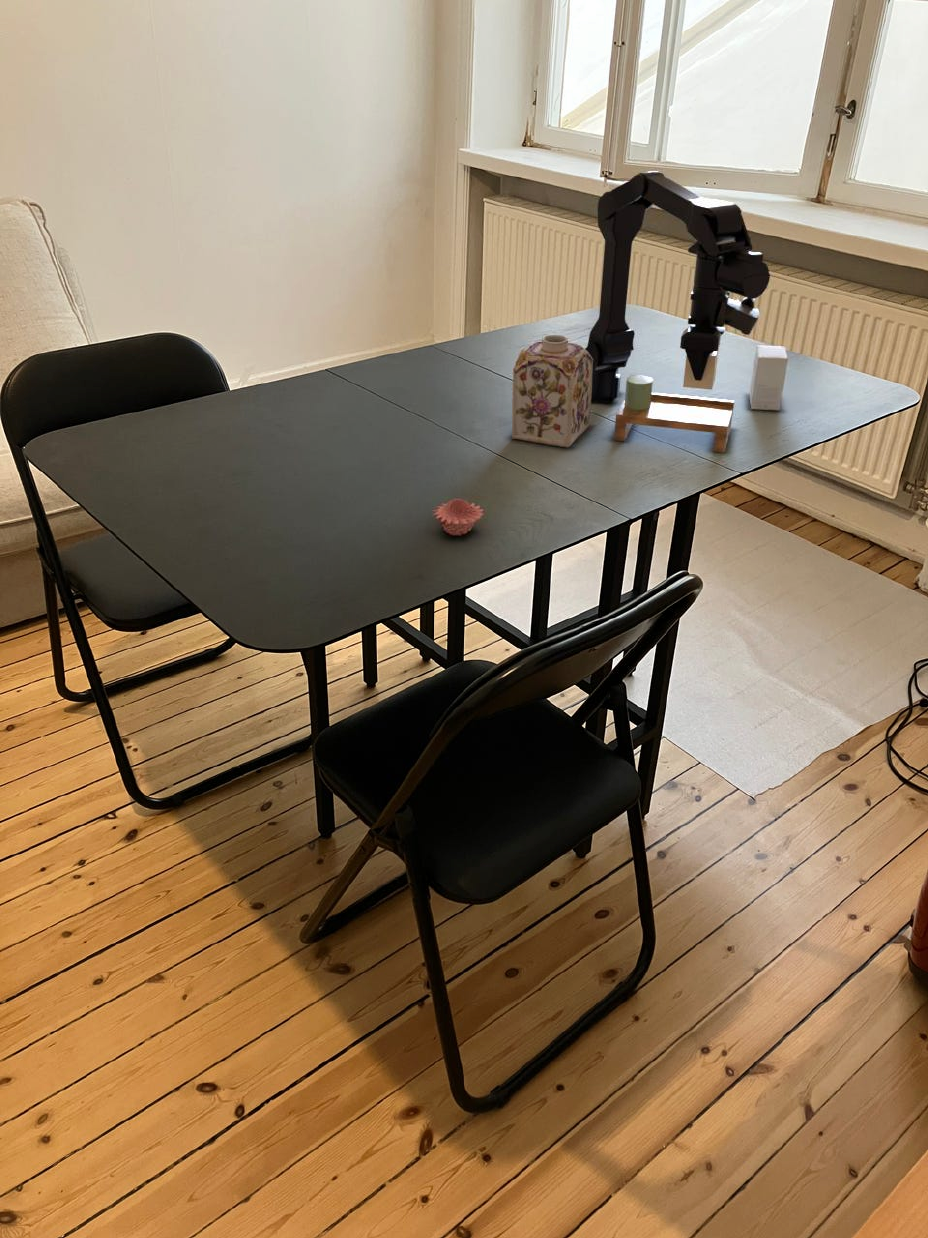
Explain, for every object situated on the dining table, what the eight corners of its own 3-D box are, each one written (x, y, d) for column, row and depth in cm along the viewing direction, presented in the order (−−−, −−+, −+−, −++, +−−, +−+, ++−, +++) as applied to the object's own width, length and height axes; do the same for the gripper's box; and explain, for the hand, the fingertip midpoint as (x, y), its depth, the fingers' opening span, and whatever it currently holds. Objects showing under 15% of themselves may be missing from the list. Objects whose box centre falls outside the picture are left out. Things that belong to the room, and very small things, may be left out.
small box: (779, 411, 196) (788, 358, 191) (750, 409, 197) (758, 357, 191) (777, 397, 203) (785, 345, 197) (748, 395, 204) (756, 344, 198)
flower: (460, 516, 160) (460, 484, 157) (494, 533, 155) (494, 501, 152) (422, 531, 156) (421, 499, 153) (455, 550, 151) (455, 517, 148)
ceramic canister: (622, 408, 185) (624, 382, 182) (627, 399, 189) (629, 374, 186) (648, 411, 184) (650, 385, 181) (652, 402, 187) (655, 376, 185)
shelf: (613, 440, 185) (616, 410, 182) (624, 418, 194) (627, 389, 191) (724, 452, 180) (728, 422, 177) (730, 430, 189) (734, 400, 185)
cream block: (682, 386, 176) (686, 353, 173) (686, 377, 180) (690, 344, 177) (711, 389, 175) (716, 355, 171) (714, 380, 179) (719, 346, 175)
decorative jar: (591, 426, 191) (596, 332, 181) (570, 449, 182) (575, 351, 172) (532, 417, 195) (535, 325, 185) (509, 439, 186) (510, 343, 176)
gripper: (756, 303, 158) (742, 397, 167) (764, 274, 173) (751, 362, 182) (684, 298, 161) (675, 391, 170) (698, 270, 176) (689, 357, 185)
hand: (699, 375), depth 176 cm, fingers closed on cream block, 5 cm apart
